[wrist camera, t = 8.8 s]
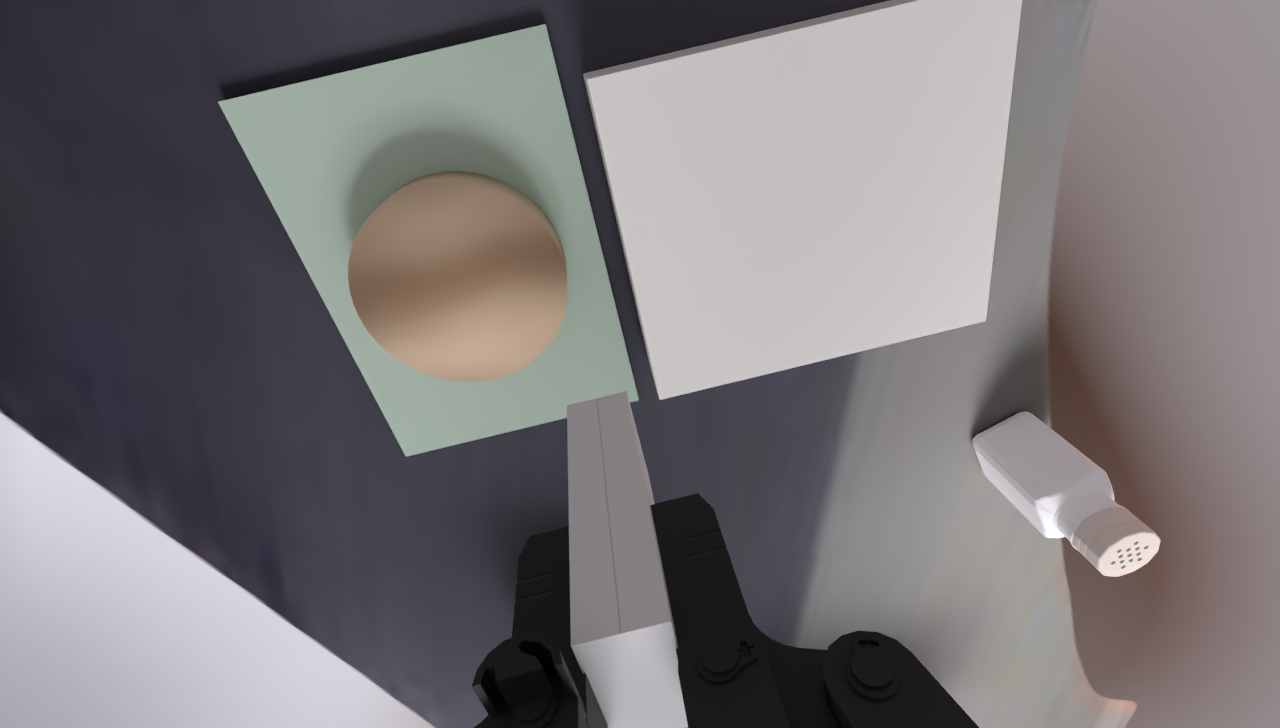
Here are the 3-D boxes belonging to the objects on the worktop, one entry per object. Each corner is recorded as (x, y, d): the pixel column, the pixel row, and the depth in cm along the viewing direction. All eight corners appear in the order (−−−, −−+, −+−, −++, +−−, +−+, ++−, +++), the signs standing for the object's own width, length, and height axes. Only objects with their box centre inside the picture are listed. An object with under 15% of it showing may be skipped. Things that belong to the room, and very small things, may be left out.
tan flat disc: (587, 332, 29) (589, 354, 27) (412, 376, 29) (402, 401, 27) (534, 148, 25) (532, 158, 23) (327, 199, 24) (306, 213, 22)
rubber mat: (637, 394, 32) (639, 400, 31) (408, 450, 32) (405, 456, 31) (545, 24, 23) (545, 23, 22) (225, 100, 23) (217, 101, 22)
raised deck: (938, 289, 31) (986, 321, 28) (648, 359, 31) (659, 399, 28) (957, -16, 24) (1025, -26, 21) (582, 73, 24) (586, 79, 20)
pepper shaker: (981, 475, 38) (1096, 594, 30) (965, 435, 37) (1084, 551, 28) (1038, 445, 38) (1173, 559, 29) (1026, 404, 36) (1165, 512, 28)
